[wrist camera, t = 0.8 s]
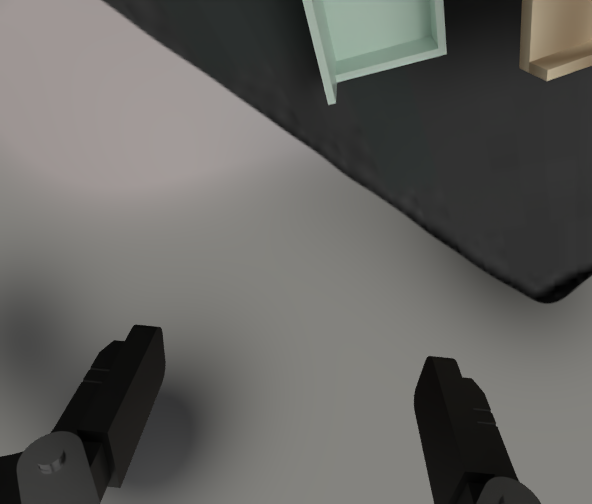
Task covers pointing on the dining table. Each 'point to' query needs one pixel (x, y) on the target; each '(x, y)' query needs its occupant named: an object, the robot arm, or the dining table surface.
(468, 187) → the dining table surface
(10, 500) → the robot arm
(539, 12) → the lever
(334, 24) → the pale green cubby shelf
